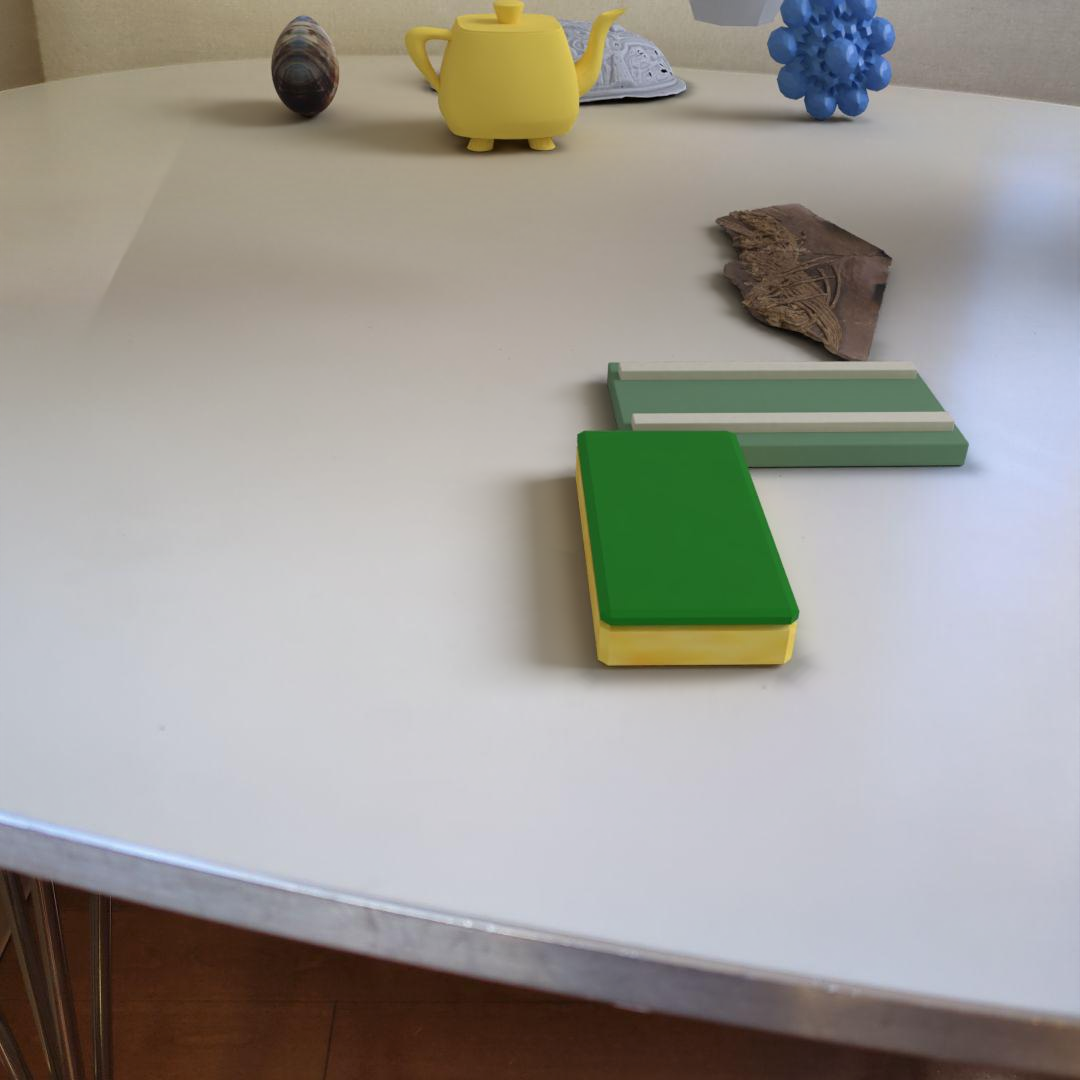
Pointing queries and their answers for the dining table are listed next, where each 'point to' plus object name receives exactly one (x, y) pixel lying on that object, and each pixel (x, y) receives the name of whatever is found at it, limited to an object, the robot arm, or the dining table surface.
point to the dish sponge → (680, 552)
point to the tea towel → (794, 410)
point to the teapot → (510, 74)
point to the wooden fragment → (808, 276)
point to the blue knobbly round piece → (832, 54)
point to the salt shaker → (735, 11)
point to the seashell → (305, 67)
